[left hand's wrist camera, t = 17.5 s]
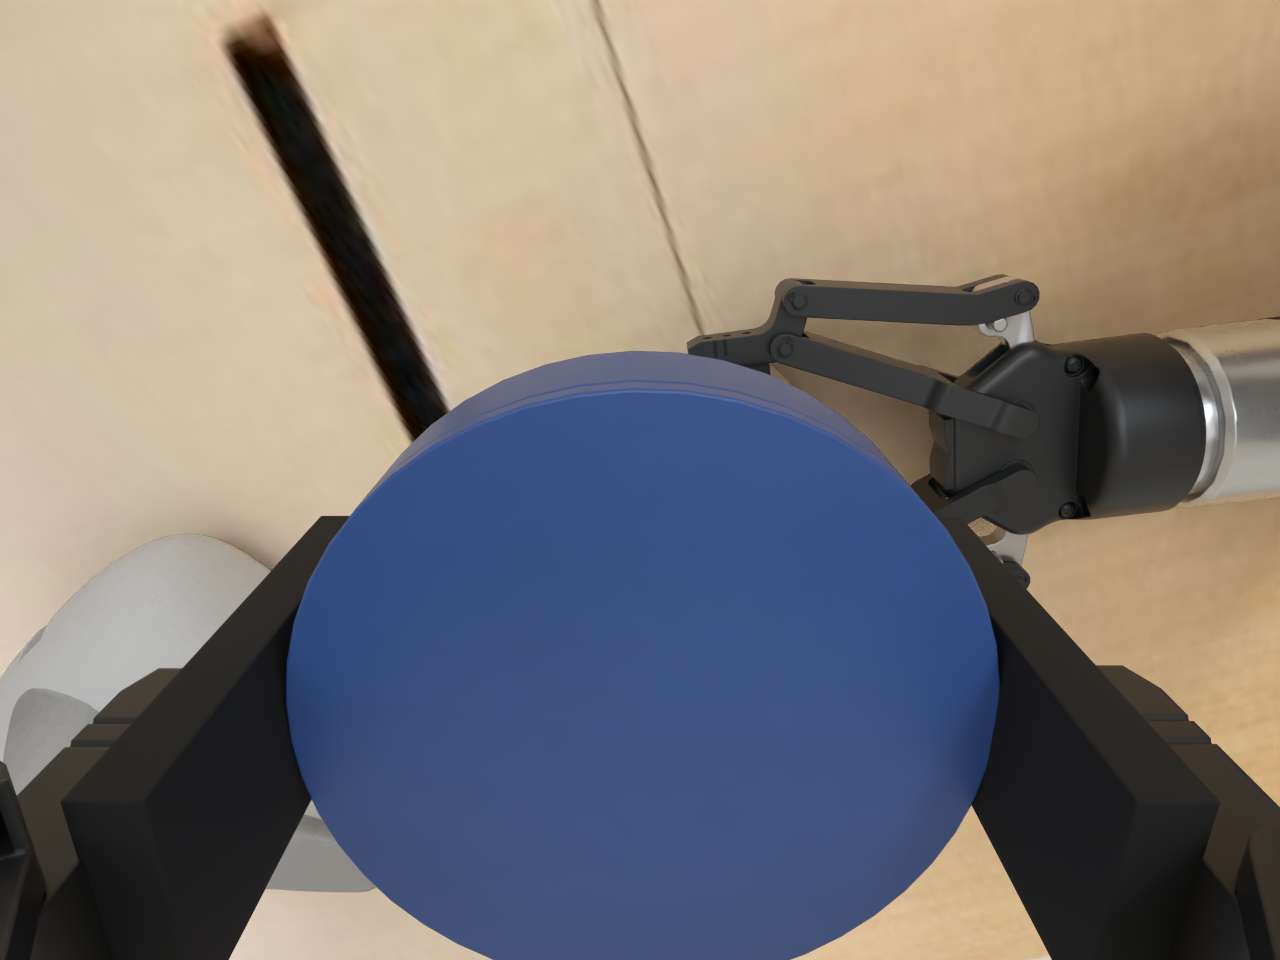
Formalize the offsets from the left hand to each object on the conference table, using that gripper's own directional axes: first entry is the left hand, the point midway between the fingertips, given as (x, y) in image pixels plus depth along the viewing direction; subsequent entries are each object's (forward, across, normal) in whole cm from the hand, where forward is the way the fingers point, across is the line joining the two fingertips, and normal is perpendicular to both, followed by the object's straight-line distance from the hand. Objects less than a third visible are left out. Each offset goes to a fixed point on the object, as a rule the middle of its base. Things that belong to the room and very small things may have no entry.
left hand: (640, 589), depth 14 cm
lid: (-3, 0, 0) cm, 3 cm away
